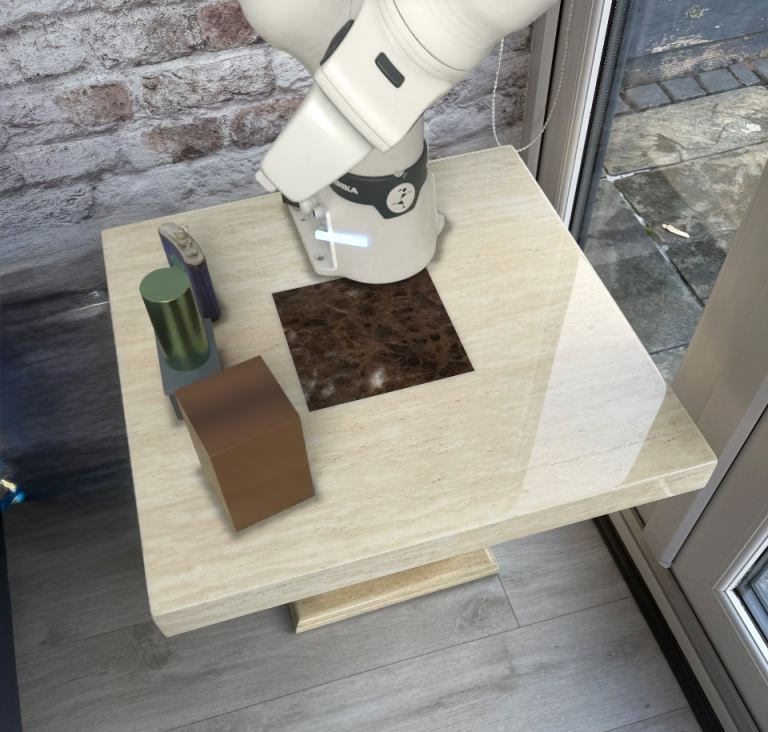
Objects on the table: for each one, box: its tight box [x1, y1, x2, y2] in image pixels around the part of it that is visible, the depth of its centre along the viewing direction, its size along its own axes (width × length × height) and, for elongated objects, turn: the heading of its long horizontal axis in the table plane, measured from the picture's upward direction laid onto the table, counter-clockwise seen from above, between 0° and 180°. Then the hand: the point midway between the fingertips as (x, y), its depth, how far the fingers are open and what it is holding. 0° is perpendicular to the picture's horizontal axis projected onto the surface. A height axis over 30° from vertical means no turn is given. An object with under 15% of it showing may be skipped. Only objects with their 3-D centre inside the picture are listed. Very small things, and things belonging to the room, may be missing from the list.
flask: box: [157, 221, 222, 324], centre depth 100 cm, size 9×3×11 cm, turn 36°
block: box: [174, 354, 315, 533], centre depth 83 cm, size 9×9×13 cm
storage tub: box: [153, 318, 222, 421], centre depth 94 cm, size 10×6×5 cm
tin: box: [139, 267, 210, 371], centre depth 88 cm, size 5×5×10 cm
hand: (289, 143), depth 65 cm, fingers open, 8 cm apart
